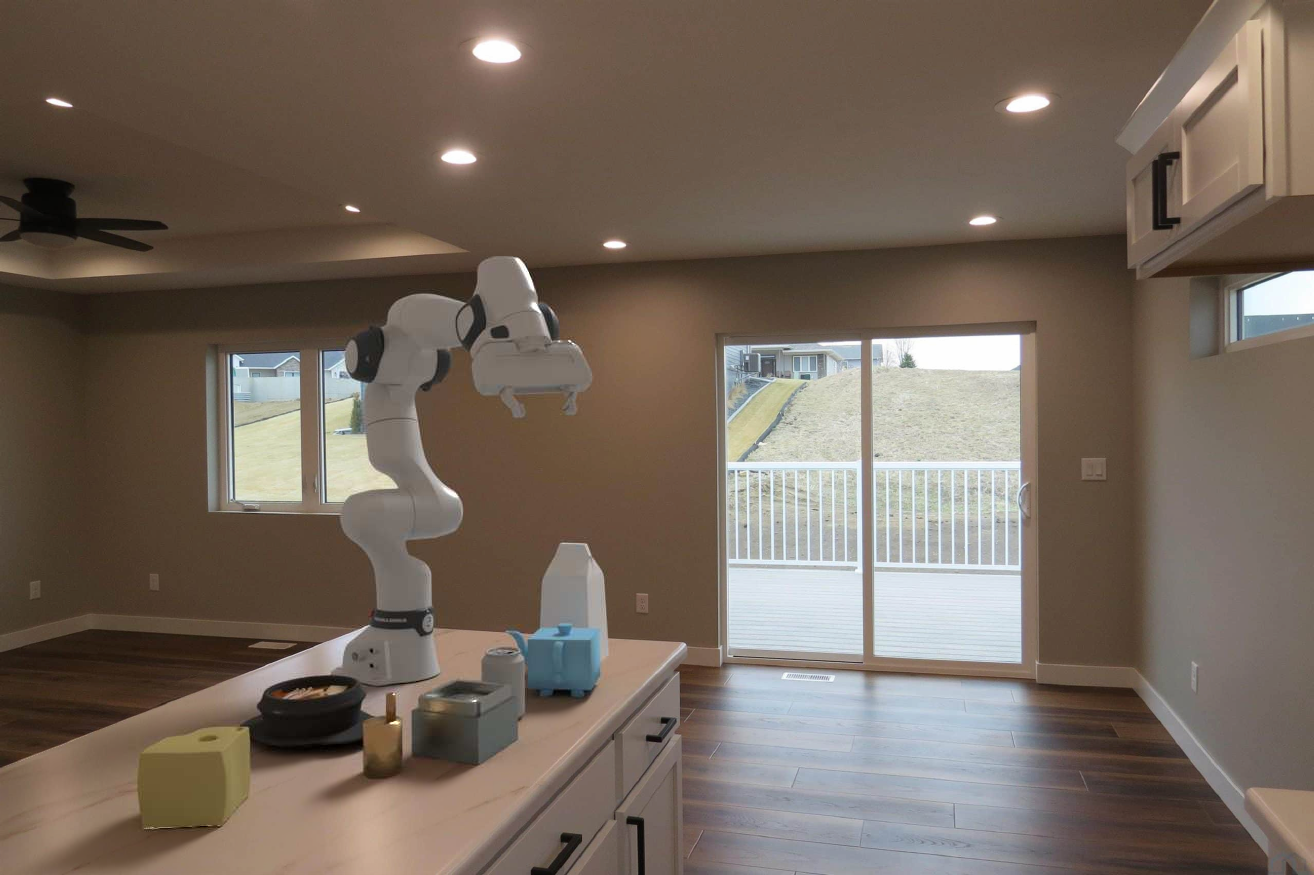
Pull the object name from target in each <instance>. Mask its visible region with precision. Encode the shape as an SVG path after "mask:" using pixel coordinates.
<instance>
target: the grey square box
mask: <svg viewBox="0 0 1314 875" xmlns="http://www.w3.org/2000/svg"><path fill="white" fill-rule="evenodd" d="M417 700H418V701H417V707H416V708H414V709H412V710H411V711H410V712H411V756H413V757H420V758H428V759H435V760H442V761H447V762H448V761H449V762H456V763H463V764H469V765H477V766H479V765H481V764H482V763H483V762H485V761H487V760H488V759H490V758H491V757H493V756H494V755H496V754H497V753H499V752H500V751H501V752H502V751H503V749H505V748H506V747H508V746H510V745H512V744H513V743H514V742H516V741H517V740H519V719H518V696H511V684H502V683H493V682H483V681H482V680H471V679H463V678H456V679H452V680H450V681H447V682H446V683H443V684H442V685H441V684H440V685H439V686H436V687H434V688H433V689H431V690H428V691H426V692H424V693H422V694H420V695H419V696H418V697H417Z"/></svg>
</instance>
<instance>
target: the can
mask: <svg viewBox="0 0 1314 875" xmlns="http://www.w3.org/2000/svg"><path fill="white" fill-rule="evenodd" d="M520 652H521V650H520V649H519V648H518V647H515V646H498V647H497V646H495V647H492V648H488V649H486V650H485V651H484V653H485V655H484V656H483V658H482V659H481V660H480V661H481V681H483V682H493V683H502V684H511V696H518V720H519V719H520V718H521V717H522V716H523V715H524V714H525V712H526V702H525V701H526V696H525V694H526V693H525V692H526V690H525V689H526V687H525V686H526V685H525V683H526V682H525V680H526V678H525V675H526V674H525V672H526V671H525V669H526V668H525V667H526V664H525V663H524V657H523V656H522V655H521V654H520Z"/></svg>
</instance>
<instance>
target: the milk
mask: <svg viewBox="0 0 1314 875" xmlns="http://www.w3.org/2000/svg"><path fill="white" fill-rule="evenodd" d="M540 593H541V595H540V597H541V598H540V616H539V617H540V620H539V621H540V622H539V625H540V626H539V629H540V628H557V625H558V624H561V623H570V624H572V628H600V662H601V661H603V660H604V659H606V657H607V656H609V657H610V653H609V652H610V651H609V649H610V648H609V633H608V619H607V603H606V586H605V576H604V573H603V570H602V569H601V567H600V566H599V565H598V563H597V561H596V560H595V559H594V557H593V556H592V553H591V550H590V548H589V545H588V544H587V543H579V542H578V543H576V542H560V543H559V545H558V547H557V550H556V552H555V554H554V557H553V558H552V561H551V562H550V563H549V566H548V568H547V569H546V571H545V573H544V575H543V578H542V582H541V592H540ZM606 660H607V659H606ZM604 661H605V660H604ZM604 661H603V662H604ZM601 663H602V662H601Z"/></svg>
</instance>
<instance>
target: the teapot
mask: <svg viewBox="0 0 1314 875" xmlns="http://www.w3.org/2000/svg"><path fill="white" fill-rule="evenodd" d="M504 631H505V633H507V634H509V635H510V636H511V637H512V638H514V640H515V642H516V644H517V648H519V649H520V650H521V652H520V654H521V655H522V656H523V657H524V664H525V666H527V690H540V691H539V694H538V696H539V695H542V696H541V697H549V696H548V695H551V696H553V694H554V690H555V691H556V690H561V691H562V690H563V691H564V690H567V691H570V696H571V697H572V696H573V698H583V697H584V695H585V692H584V691H592V690H593V688H594V686H595V685H596V684H597V681H598V680H599V678H600V677H601V663H600V628H572V624H570V623H561V624H558V625H557V628H540V627H539V628H538V629H537V630H536V631H535V632H534V633H533V634H531V636H530V637H529V638H528V639H527V642H526V640H525V638H524V635H523V634H522V633H521V632H520V631H517V630H504ZM585 696H586V695H585Z"/></svg>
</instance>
